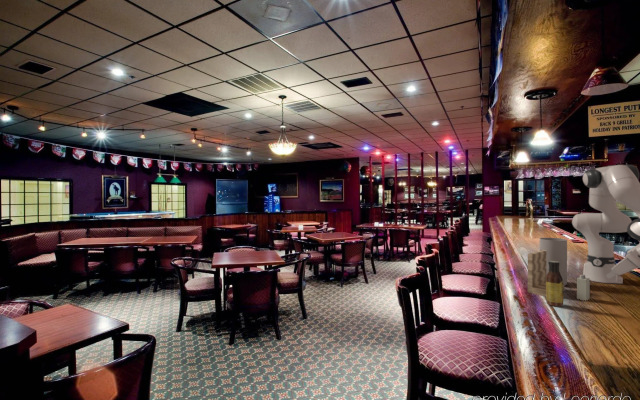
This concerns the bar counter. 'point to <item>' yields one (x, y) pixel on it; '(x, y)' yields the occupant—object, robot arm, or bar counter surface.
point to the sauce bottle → (554, 285)
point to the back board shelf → (537, 272)
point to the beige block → (583, 288)
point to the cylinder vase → (556, 254)
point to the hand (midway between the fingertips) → (610, 275)
